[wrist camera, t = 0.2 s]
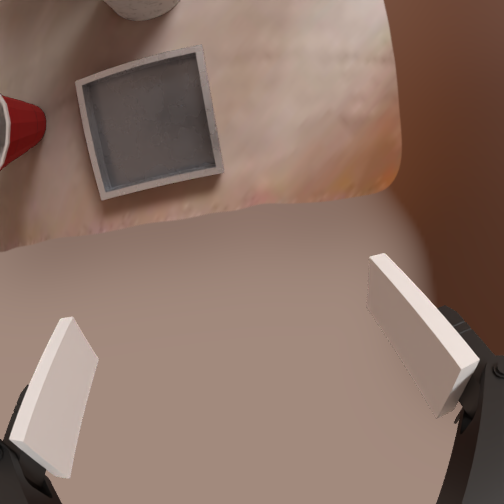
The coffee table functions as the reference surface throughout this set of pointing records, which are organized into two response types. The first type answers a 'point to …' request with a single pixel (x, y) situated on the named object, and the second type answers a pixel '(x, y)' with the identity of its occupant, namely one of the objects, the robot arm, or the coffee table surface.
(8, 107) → the plastic cup
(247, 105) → the coffee table surface
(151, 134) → the grey square tray
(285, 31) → the coffee table surface
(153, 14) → the speckled white cylinder
